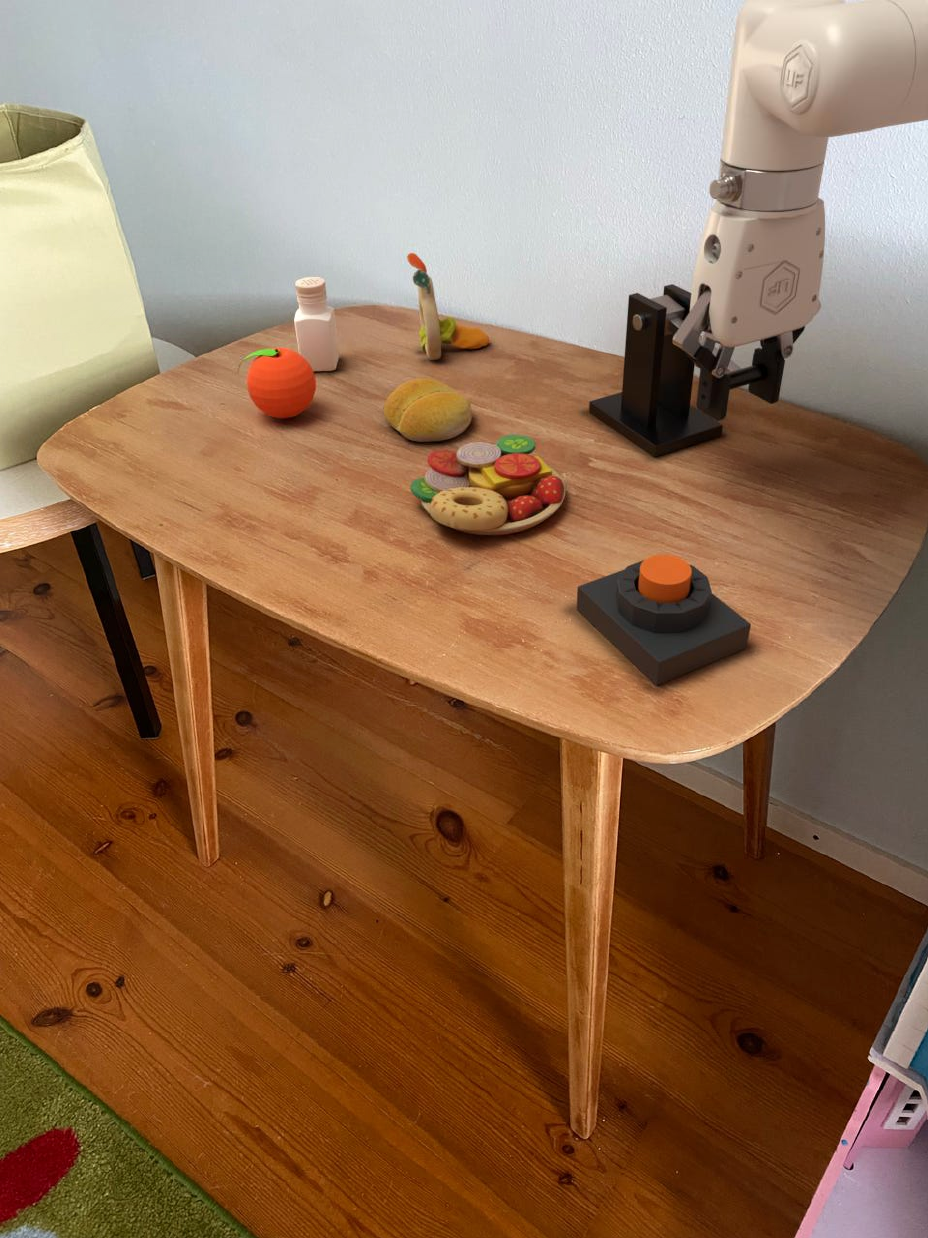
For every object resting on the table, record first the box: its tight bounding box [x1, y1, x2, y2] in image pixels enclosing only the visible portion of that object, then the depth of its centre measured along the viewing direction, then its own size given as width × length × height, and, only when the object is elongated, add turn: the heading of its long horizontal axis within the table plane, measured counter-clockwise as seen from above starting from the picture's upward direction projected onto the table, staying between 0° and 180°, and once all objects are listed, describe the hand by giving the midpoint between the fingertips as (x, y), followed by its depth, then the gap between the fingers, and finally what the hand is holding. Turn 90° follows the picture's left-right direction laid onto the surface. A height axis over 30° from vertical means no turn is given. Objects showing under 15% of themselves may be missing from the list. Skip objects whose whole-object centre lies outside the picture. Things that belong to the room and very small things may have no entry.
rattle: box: [406, 252, 490, 361], centre depth 109 cm, size 8×8×12 cm
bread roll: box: [383, 377, 473, 443], centre depth 98 cm, size 8×9×4 cm
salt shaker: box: [293, 276, 340, 372], centre depth 108 cm, size 4×4×10 cm
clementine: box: [237, 347, 317, 419], centre depth 100 cm, size 8×7×7 cm
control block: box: [576, 559, 752, 686], centre depth 71 cm, size 10×8×4 cm
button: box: [638, 554, 692, 603], centre depth 70 cm, size 4×4×2 cm
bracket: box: [588, 283, 724, 458], centre depth 94 cm, size 11×8×13 cm
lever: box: [650, 295, 768, 391], centre depth 88 cm, size 13×5×2 cm, turn 29°
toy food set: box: [409, 434, 566, 536], centre depth 86 cm, size 13×13×3 cm
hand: (737, 403), depth 86 cm, fingers closed on lever, 5 cm apart
